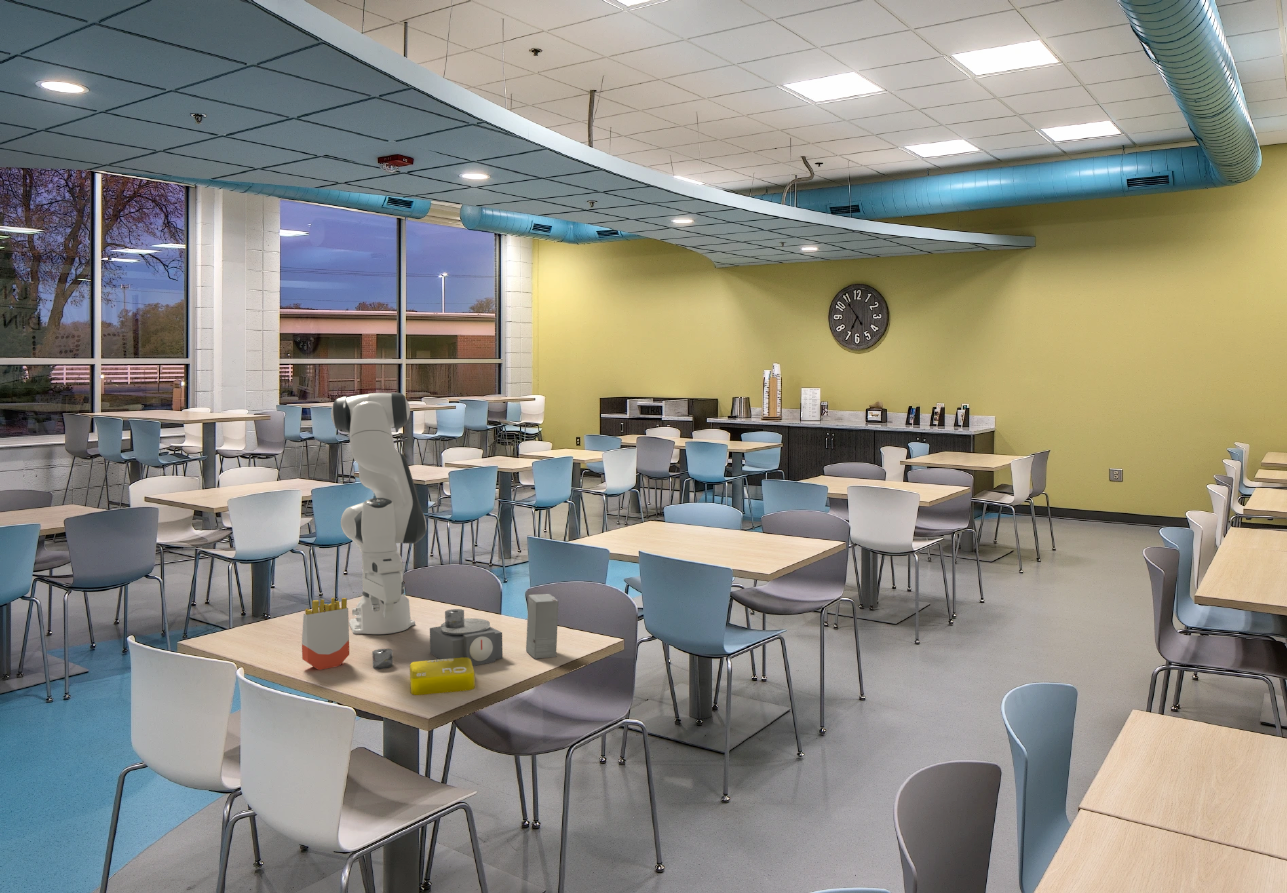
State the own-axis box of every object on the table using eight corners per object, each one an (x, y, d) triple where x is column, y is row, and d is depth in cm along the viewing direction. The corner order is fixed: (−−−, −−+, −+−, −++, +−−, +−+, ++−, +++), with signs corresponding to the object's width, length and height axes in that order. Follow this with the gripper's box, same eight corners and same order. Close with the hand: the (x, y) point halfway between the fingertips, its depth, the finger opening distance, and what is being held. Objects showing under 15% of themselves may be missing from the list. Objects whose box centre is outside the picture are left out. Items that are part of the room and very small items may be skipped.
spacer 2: (442, 625, 240) (442, 610, 240) (459, 622, 243) (459, 607, 242) (449, 629, 236) (449, 614, 235) (467, 626, 238) (467, 611, 238)
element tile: (470, 673, 227) (470, 654, 227) (475, 691, 213) (475, 671, 213) (409, 678, 223) (409, 659, 223) (410, 697, 209) (410, 677, 209)
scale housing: (430, 653, 244) (429, 624, 243) (477, 644, 252) (477, 616, 251) (456, 669, 229) (456, 638, 228) (506, 660, 237) (505, 630, 236)
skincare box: (525, 651, 245) (524, 594, 244) (550, 648, 248) (549, 592, 247) (534, 660, 237) (533, 601, 236) (559, 656, 240) (559, 598, 239)
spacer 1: (370, 666, 233) (369, 650, 233) (388, 662, 236) (388, 647, 236) (376, 670, 229) (376, 654, 229) (395, 667, 232) (395, 651, 232)
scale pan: (433, 627, 242) (433, 623, 242) (477, 620, 250) (477, 616, 250) (452, 637, 232) (452, 633, 232) (498, 630, 239) (497, 625, 239)
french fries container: (302, 668, 231) (300, 599, 230) (343, 659, 238) (341, 593, 237) (308, 672, 228) (306, 602, 227) (349, 663, 235) (348, 596, 234)
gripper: (355, 557, 237) (357, 608, 238) (380, 568, 221) (382, 623, 221) (378, 555, 241) (380, 605, 242) (405, 565, 224) (407, 619, 225)
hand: (381, 614), depth 231 cm, fingers open, 8 cm apart
